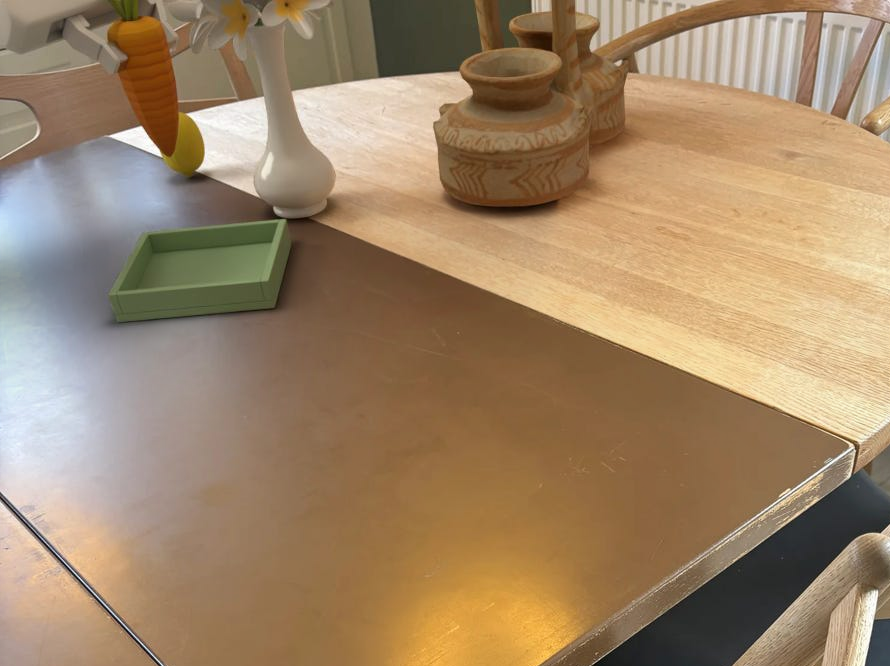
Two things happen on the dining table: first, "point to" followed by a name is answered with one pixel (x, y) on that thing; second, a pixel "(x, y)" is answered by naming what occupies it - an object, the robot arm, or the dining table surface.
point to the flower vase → (270, 93)
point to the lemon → (187, 148)
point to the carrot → (147, 73)
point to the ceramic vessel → (529, 109)
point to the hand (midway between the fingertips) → (146, 57)
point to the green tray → (202, 271)
